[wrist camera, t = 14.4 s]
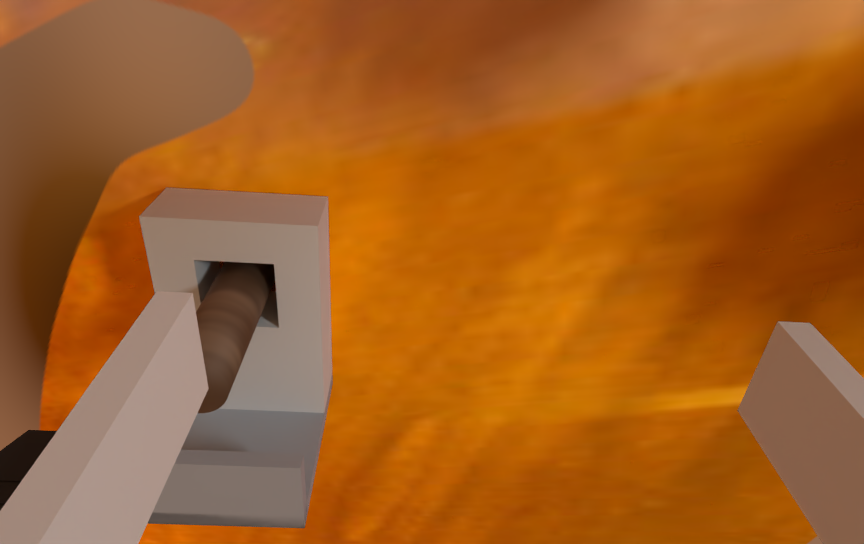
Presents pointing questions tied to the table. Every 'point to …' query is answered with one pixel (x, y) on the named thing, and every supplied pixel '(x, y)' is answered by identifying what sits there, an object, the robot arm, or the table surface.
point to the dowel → (230, 324)
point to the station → (251, 354)
